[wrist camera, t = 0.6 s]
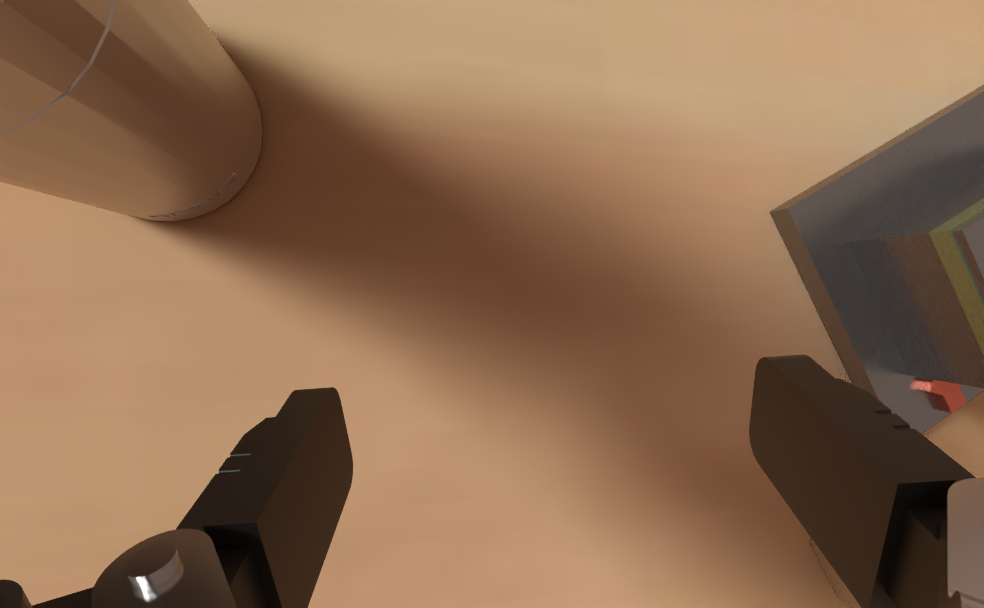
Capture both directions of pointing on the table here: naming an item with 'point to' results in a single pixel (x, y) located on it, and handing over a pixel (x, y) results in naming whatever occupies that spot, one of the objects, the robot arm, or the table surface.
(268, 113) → the table surface
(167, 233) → the table surface
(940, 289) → the box on base plate
